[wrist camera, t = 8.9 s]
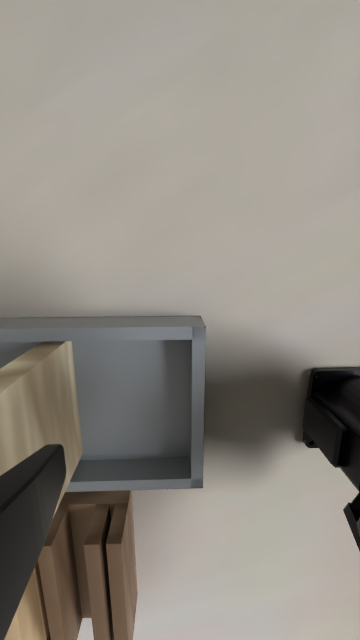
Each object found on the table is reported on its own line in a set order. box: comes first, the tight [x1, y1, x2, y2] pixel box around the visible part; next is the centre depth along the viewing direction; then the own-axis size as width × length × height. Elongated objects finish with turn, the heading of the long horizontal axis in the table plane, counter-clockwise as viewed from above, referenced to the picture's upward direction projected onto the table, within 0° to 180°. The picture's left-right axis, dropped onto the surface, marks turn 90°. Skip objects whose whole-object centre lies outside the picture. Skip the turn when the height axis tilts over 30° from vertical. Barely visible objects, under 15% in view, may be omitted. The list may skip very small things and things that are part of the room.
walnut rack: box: [38, 490, 137, 640], centre depth 21 cm, size 12×12×4 cm
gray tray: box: [0, 316, 206, 492], centre depth 18 cm, size 19×12×3 cm, turn 90°
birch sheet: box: [0, 341, 83, 517], centre depth 14 cm, size 2×9×10 cm, turn 0°
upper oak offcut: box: [4, 571, 45, 640], centre depth 18 cm, size 4×9×2 cm, turn 0°
